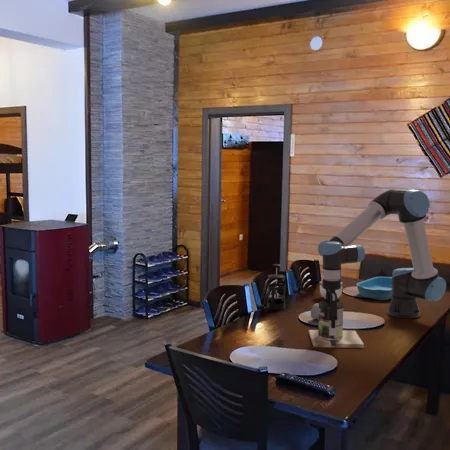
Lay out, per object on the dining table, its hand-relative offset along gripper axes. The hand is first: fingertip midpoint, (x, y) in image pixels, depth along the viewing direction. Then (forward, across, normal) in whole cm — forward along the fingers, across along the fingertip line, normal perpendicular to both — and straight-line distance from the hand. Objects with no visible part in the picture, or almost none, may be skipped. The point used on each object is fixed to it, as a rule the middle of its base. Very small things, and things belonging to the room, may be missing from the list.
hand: (330, 331), depth 219 cm
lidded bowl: (+4, -72, +11) cm, 73 cm away
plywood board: (+4, 0, +2) cm, 4 cm away
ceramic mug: (+4, -30, +1) cm, 30 cm away
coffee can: (+3, 0, 0) cm, 3 cm away
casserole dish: (+5, -84, +43) cm, 94 cm away
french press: (+4, -51, -20) cm, 55 cm away
